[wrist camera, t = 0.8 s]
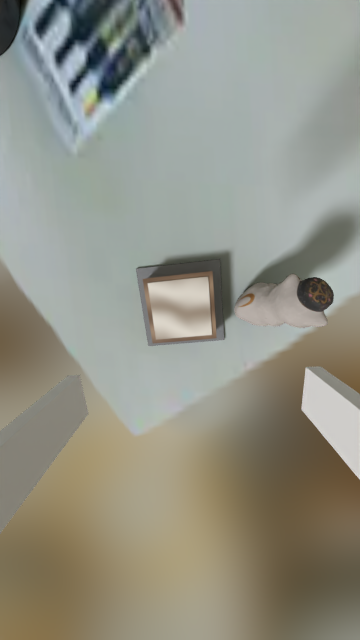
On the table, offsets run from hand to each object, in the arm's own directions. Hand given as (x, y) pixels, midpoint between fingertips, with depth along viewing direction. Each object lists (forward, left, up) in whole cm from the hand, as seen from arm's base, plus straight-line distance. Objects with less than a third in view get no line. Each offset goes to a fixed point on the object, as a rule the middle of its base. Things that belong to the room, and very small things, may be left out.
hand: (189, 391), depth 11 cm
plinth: (-1, -2, -27) cm, 26 cm away
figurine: (-1, +13, -27) cm, 30 cm away
